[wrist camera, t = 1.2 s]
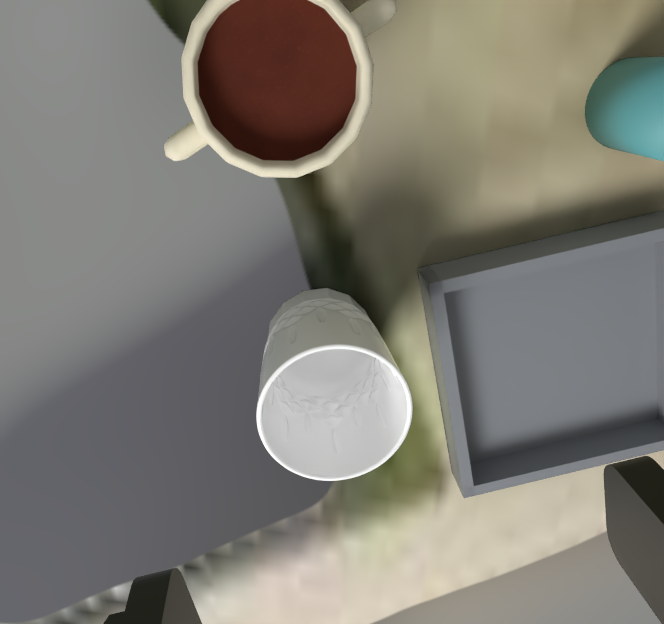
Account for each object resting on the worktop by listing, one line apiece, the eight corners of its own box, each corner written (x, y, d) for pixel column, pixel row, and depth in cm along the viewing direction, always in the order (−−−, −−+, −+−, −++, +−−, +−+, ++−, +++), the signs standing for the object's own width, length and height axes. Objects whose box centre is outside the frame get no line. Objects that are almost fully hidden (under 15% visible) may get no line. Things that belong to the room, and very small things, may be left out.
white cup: (397, 299, 40) (437, 370, 31) (354, 402, 43) (378, 496, 33) (281, 262, 39) (286, 325, 29) (243, 371, 41) (236, 460, 32)
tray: (661, 210, 40) (691, 221, 37) (663, 420, 46) (689, 443, 43) (417, 268, 39) (428, 283, 37) (451, 471, 46) (463, 498, 43)
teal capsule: (669, 48, 36) (757, 44, 30) (670, 138, 38) (752, 153, 32) (582, 68, 36) (651, 69, 30) (587, 158, 38) (653, 177, 32)
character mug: (323, -46, 33) (355, -111, 21) (390, 77, 35) (454, 84, 23) (154, 73, 34) (92, 77, 22) (231, 183, 36) (213, 242, 24)
